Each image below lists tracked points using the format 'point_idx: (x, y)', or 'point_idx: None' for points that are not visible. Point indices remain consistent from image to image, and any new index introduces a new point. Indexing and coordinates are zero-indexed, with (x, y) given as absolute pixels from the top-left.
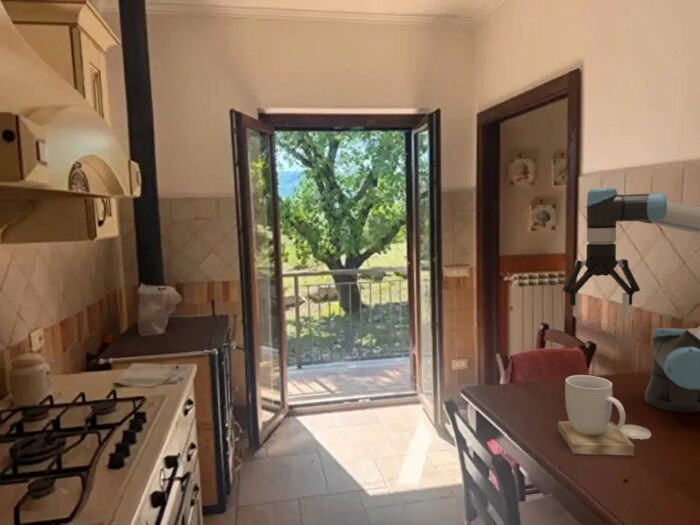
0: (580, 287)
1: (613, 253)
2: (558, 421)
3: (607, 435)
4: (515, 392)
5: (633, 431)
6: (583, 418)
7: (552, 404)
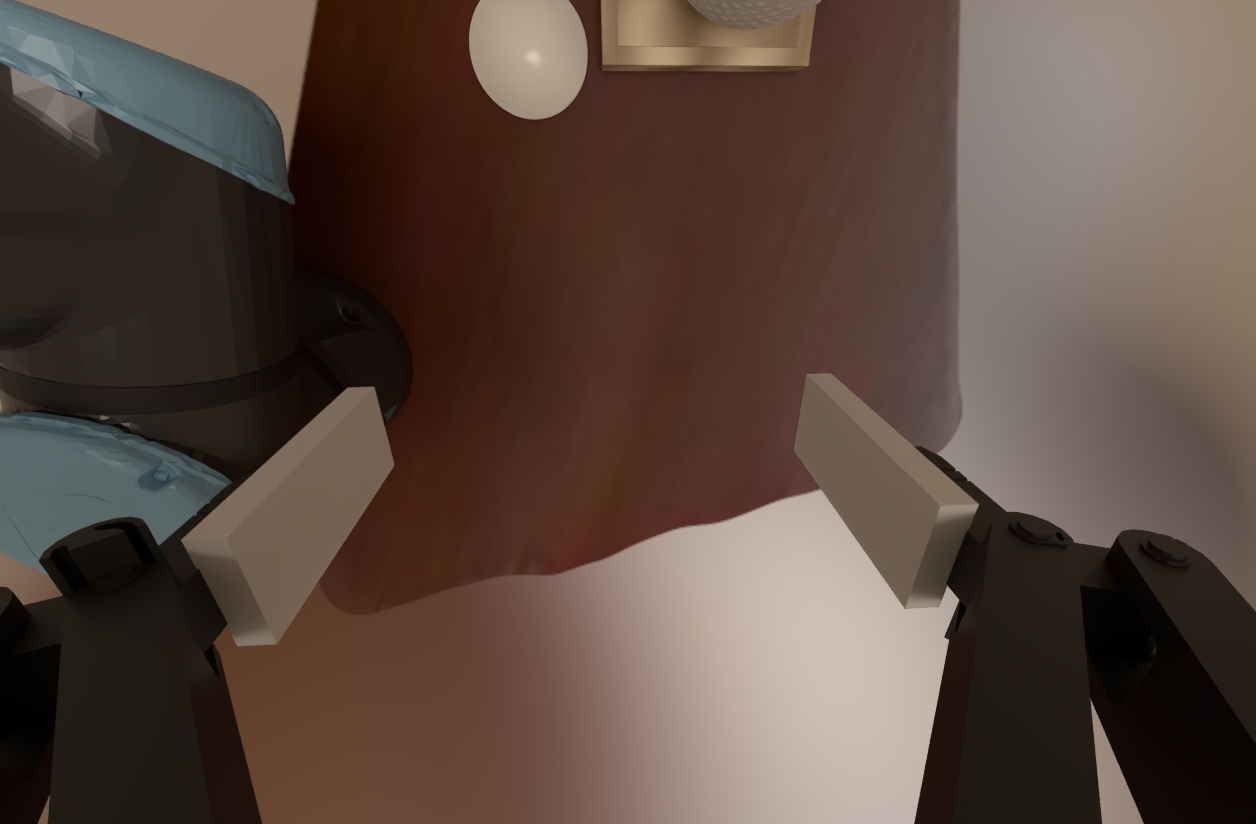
0: (995, 606)
1: None
2: (807, 62)
3: None
4: None
5: (531, 42)
6: None
7: (727, 327)
